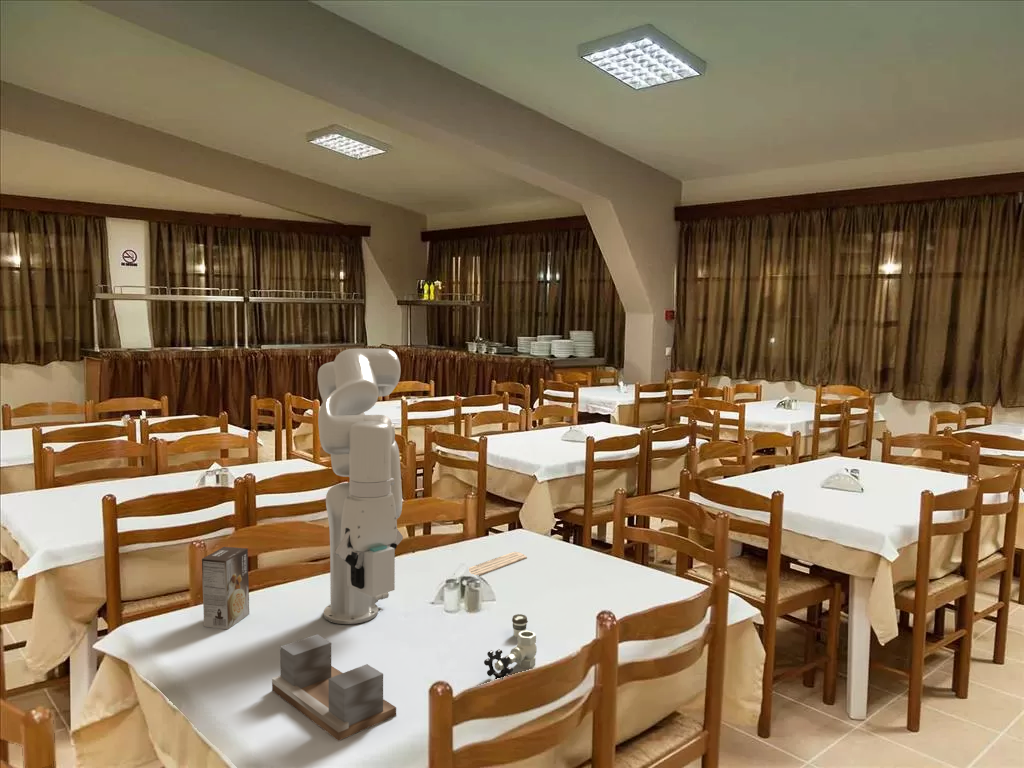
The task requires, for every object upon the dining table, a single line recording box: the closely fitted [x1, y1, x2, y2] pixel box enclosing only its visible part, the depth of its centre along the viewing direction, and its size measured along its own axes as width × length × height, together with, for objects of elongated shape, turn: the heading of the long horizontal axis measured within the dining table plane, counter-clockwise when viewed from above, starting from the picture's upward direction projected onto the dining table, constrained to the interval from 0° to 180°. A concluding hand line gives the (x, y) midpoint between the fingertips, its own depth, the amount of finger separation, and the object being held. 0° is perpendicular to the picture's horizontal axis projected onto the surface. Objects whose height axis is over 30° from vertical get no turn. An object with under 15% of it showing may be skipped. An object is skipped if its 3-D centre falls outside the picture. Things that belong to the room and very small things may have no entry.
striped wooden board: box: [468, 551, 528, 577], centre depth 220 cm, size 24×7×2 cm, turn 139°
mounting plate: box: [271, 633, 397, 742], centre depth 144 cm, size 12×23×8 cm, turn 45°
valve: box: [483, 630, 538, 680], centre depth 157 cm, size 7×7×12 cm
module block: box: [347, 545, 396, 597], centre depth 146 cm, size 5×8×8 cm, turn 47°
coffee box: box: [201, 546, 250, 630], centre depth 178 cm, size 9×6×16 cm
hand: (370, 582), depth 146 cm, fingers closed on module block, 5 cm apart
